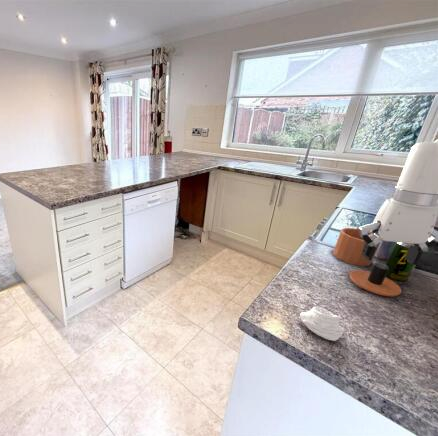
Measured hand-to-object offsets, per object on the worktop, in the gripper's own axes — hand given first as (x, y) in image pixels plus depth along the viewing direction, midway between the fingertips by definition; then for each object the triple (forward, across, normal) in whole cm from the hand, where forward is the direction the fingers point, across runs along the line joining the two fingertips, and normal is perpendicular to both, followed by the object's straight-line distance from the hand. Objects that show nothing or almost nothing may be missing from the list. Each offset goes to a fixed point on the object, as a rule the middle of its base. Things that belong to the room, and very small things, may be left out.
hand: (387, 259), depth 64 cm
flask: (+9, -13, -17) cm, 23 cm away
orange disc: (+8, +1, 0) cm, 8 cm away
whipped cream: (+8, +21, +20) cm, 30 cm away
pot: (+8, -1, -15) cm, 17 cm away
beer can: (+9, -7, -5) cm, 12 cm away
